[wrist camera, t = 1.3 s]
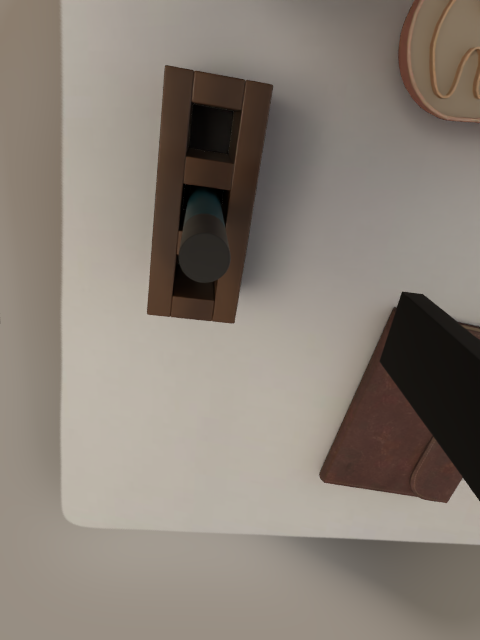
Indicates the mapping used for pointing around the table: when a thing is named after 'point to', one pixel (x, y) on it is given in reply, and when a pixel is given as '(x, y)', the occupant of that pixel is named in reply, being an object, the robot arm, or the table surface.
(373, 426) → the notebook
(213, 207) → the pen
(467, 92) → the anatomical model
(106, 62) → the table surface
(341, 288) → the table surface
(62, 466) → the table surface
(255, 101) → the pen holder
